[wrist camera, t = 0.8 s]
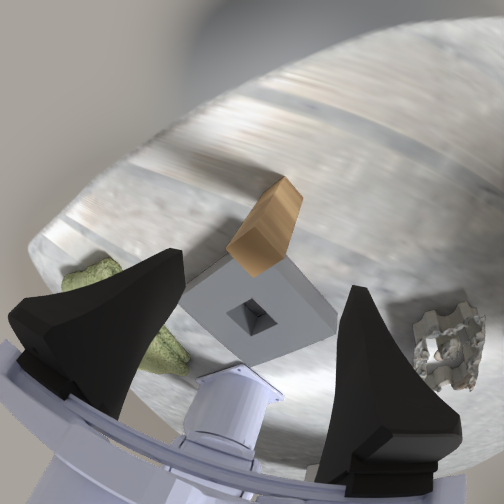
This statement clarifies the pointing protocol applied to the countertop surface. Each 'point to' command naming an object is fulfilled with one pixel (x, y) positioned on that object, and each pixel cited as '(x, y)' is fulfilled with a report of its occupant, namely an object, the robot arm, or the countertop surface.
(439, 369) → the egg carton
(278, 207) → the oak peg
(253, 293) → the charcoal socket block
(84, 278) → the washcloth
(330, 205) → the countertop surface
